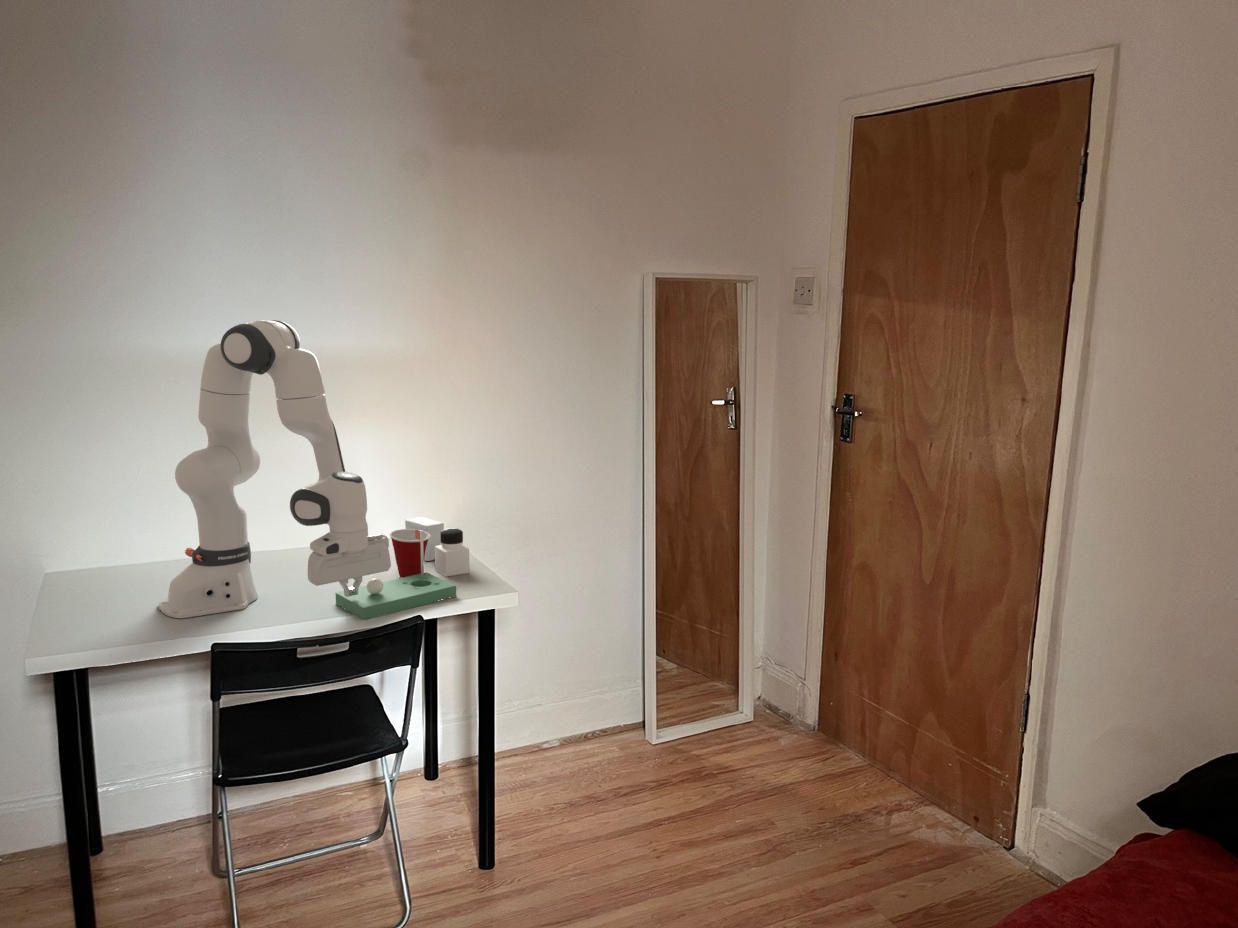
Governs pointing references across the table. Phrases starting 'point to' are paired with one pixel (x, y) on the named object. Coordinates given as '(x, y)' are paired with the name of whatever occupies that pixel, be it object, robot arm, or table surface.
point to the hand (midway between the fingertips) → (351, 595)
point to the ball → (374, 586)
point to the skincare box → (429, 527)
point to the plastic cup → (408, 551)
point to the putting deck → (398, 593)
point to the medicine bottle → (451, 553)
